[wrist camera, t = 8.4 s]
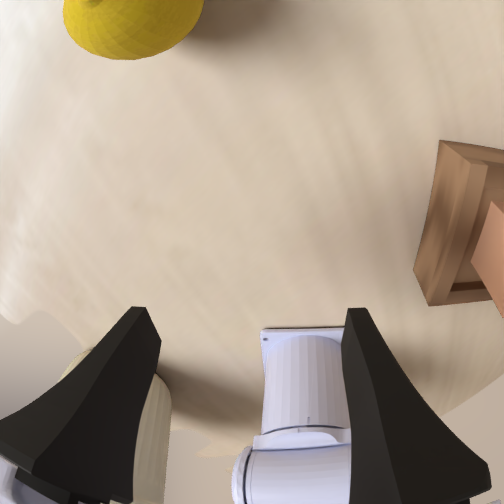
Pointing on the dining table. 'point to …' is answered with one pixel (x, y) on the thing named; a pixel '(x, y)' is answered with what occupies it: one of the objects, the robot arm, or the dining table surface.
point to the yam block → (492, 254)
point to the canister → (148, 441)
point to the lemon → (130, 25)
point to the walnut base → (458, 222)
